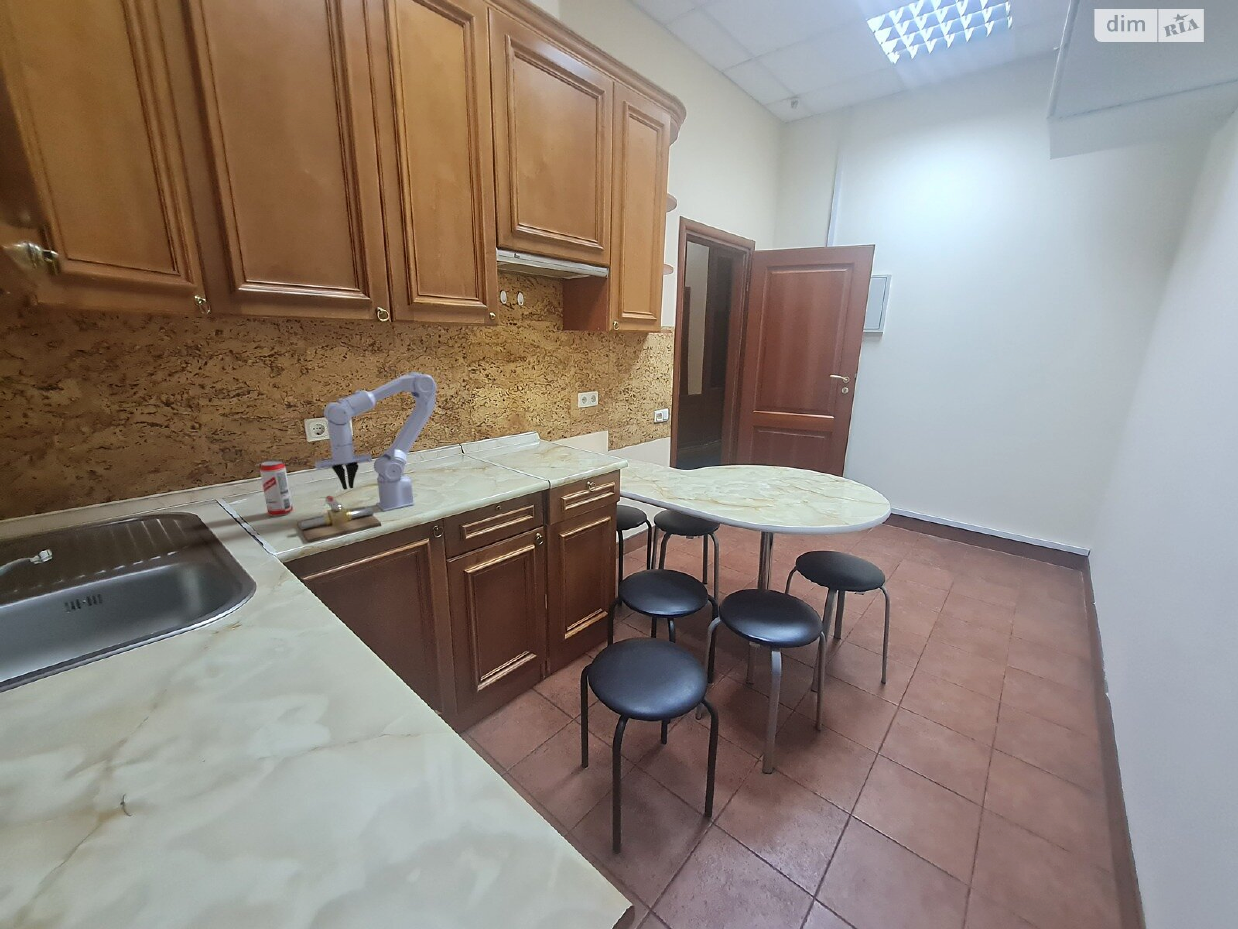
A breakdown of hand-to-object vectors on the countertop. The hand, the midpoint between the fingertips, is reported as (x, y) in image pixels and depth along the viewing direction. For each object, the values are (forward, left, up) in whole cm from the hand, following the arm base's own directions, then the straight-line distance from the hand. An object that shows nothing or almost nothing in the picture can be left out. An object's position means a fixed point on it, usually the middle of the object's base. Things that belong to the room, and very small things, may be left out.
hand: (348, 488), depth 143 cm
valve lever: (+5, +3, -4) cm, 7 cm away
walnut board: (+5, +7, -8) cm, 12 cm away
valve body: (+5, +7, -8) cm, 12 cm away
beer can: (+16, -14, -9) cm, 23 cm away
